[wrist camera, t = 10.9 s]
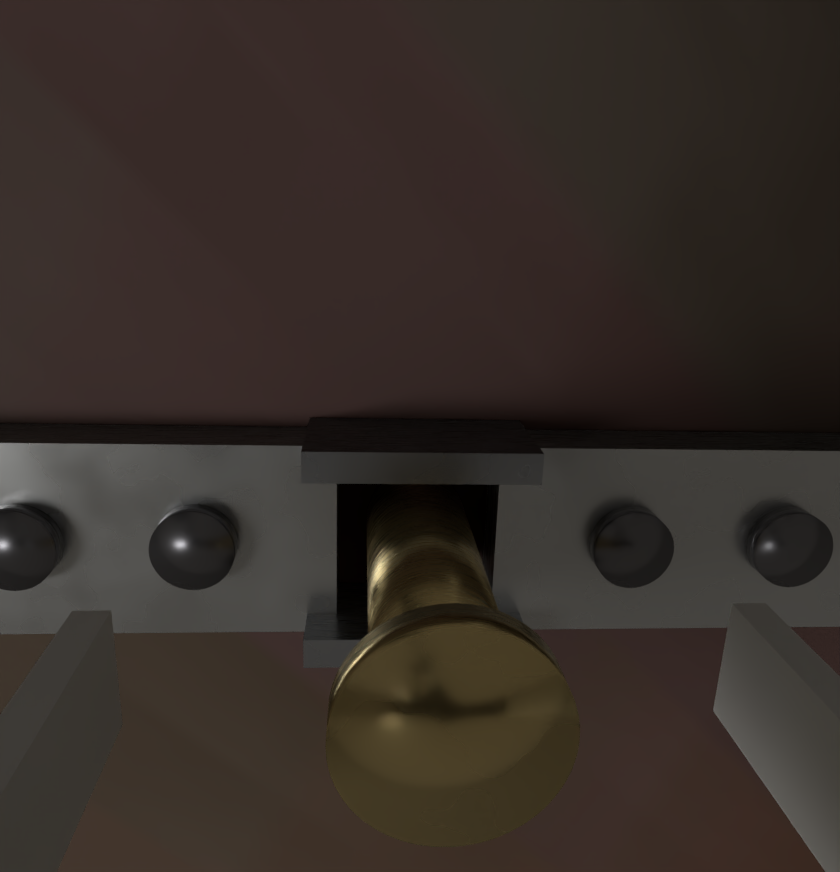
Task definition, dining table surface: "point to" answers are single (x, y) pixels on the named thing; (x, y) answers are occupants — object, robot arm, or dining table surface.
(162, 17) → the dining table surface
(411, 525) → the pin
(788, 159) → the dining table surface
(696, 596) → the grey long bar piece
